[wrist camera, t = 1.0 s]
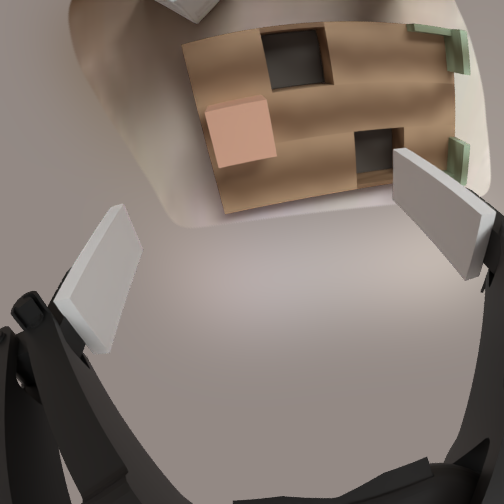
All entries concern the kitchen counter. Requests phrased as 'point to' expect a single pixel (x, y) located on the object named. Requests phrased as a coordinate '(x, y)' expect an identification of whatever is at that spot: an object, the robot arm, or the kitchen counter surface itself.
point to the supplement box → (190, 8)
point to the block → (241, 130)
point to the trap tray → (334, 104)
